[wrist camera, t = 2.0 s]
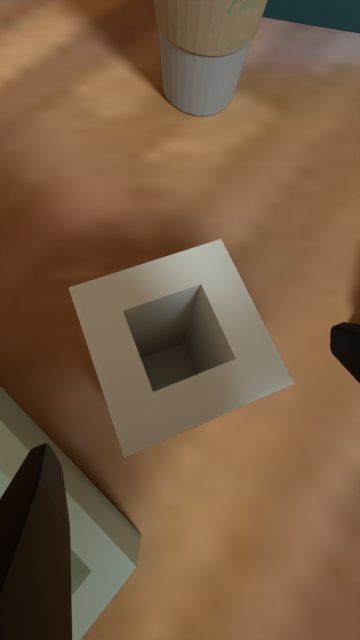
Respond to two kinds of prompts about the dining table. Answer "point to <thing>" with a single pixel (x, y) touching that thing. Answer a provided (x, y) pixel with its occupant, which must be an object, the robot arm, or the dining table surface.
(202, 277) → the beige hollow square block
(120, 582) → the green square tray
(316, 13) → the donation box
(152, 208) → the dining table surface
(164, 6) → the coffee cup
